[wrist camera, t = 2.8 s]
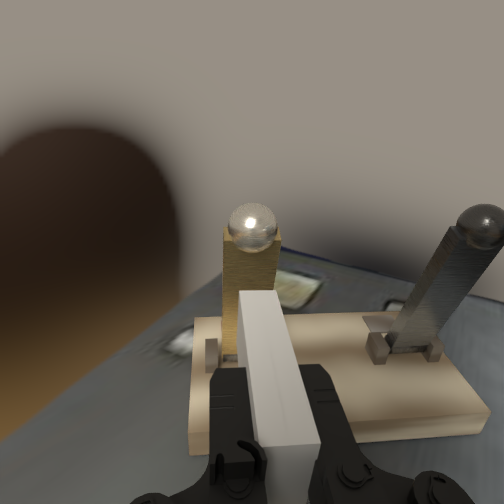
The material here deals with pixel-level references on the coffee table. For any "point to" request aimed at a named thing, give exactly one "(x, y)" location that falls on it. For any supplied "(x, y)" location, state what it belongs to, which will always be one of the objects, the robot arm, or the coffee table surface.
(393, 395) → the console
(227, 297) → the lever brass
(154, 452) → the coffee table surface
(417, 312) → the lever slate
